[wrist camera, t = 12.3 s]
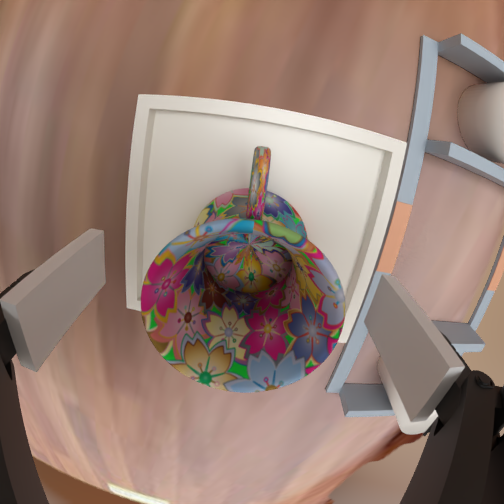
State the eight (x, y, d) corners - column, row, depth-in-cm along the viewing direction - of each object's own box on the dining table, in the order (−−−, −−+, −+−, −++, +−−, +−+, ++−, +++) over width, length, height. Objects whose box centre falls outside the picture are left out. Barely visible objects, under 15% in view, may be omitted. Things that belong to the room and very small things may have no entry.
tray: (134, 296, 26) (126, 307, 24) (148, 97, 19) (138, 94, 18) (341, 329, 26) (346, 342, 25) (395, 141, 20) (406, 142, 18)
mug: (298, 301, 25) (317, 399, 15) (186, 287, 24) (147, 378, 15) (327, 153, 20) (385, 170, 10) (196, 136, 20) (139, 138, 10)
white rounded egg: (367, 380, 29) (386, 437, 22) (393, 329, 26) (424, 386, 19) (417, 380, 29) (441, 430, 22) (444, 333, 27) (478, 381, 19)
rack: (325, 388, 29) (331, 416, 26) (420, 36, 17) (445, 24, 13) (438, 388, 30) (449, 409, 26) (535, 109, 17) (560, 111, 13)
